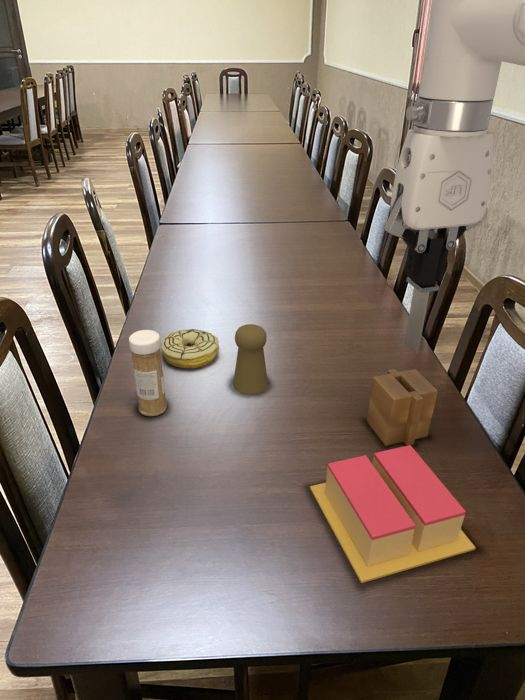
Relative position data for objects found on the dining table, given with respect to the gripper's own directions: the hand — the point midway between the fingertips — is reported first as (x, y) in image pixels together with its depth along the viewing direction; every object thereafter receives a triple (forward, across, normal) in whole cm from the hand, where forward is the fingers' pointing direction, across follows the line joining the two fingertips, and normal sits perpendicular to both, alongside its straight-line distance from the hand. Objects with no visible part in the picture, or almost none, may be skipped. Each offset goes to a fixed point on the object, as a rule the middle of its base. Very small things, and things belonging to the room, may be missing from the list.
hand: (423, 277), depth 66 cm
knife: (+10, 0, 0) cm, 10 cm away
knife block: (+27, +2, +3) cm, 27 cm away
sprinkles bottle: (+27, -33, +18) cm, 46 cm away
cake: (+27, -8, -12) cm, 30 cm away
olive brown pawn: (+27, -16, +21) cm, 37 cm away
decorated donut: (+27, -24, +33) cm, 49 cm away
